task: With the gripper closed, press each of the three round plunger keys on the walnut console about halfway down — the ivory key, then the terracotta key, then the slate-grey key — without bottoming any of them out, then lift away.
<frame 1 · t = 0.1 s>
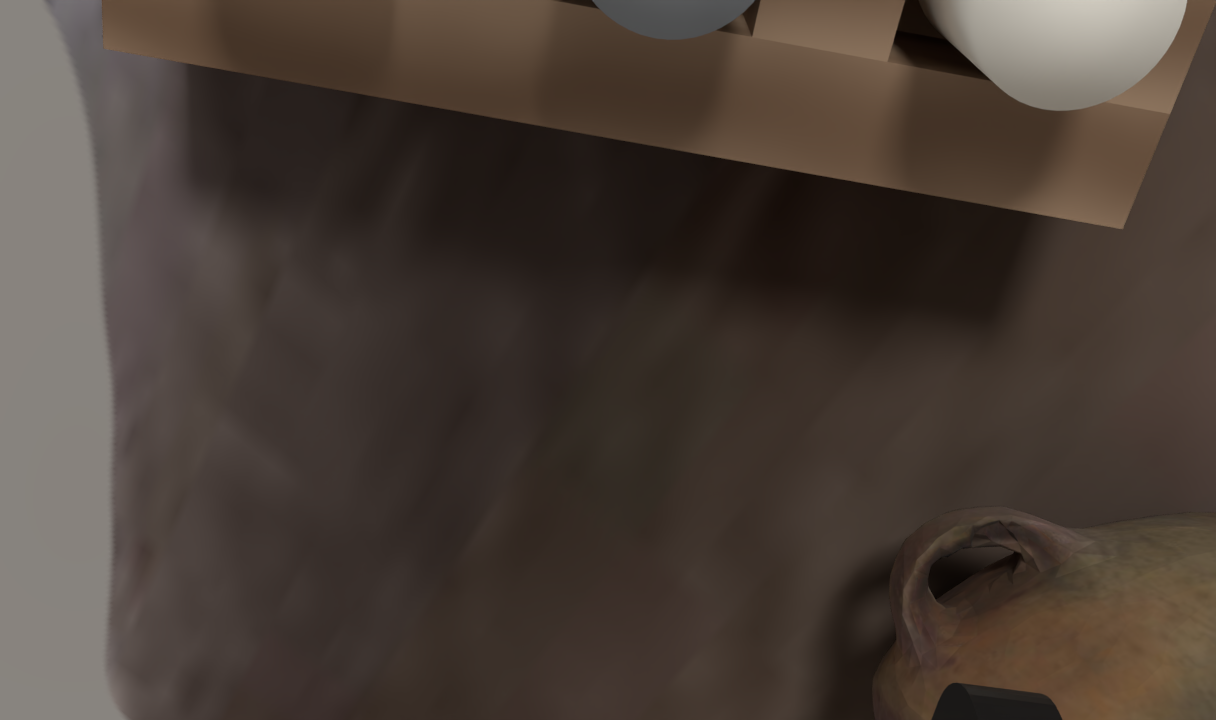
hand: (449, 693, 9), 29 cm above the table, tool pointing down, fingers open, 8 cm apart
jug: (1188, 568, 45), on the table
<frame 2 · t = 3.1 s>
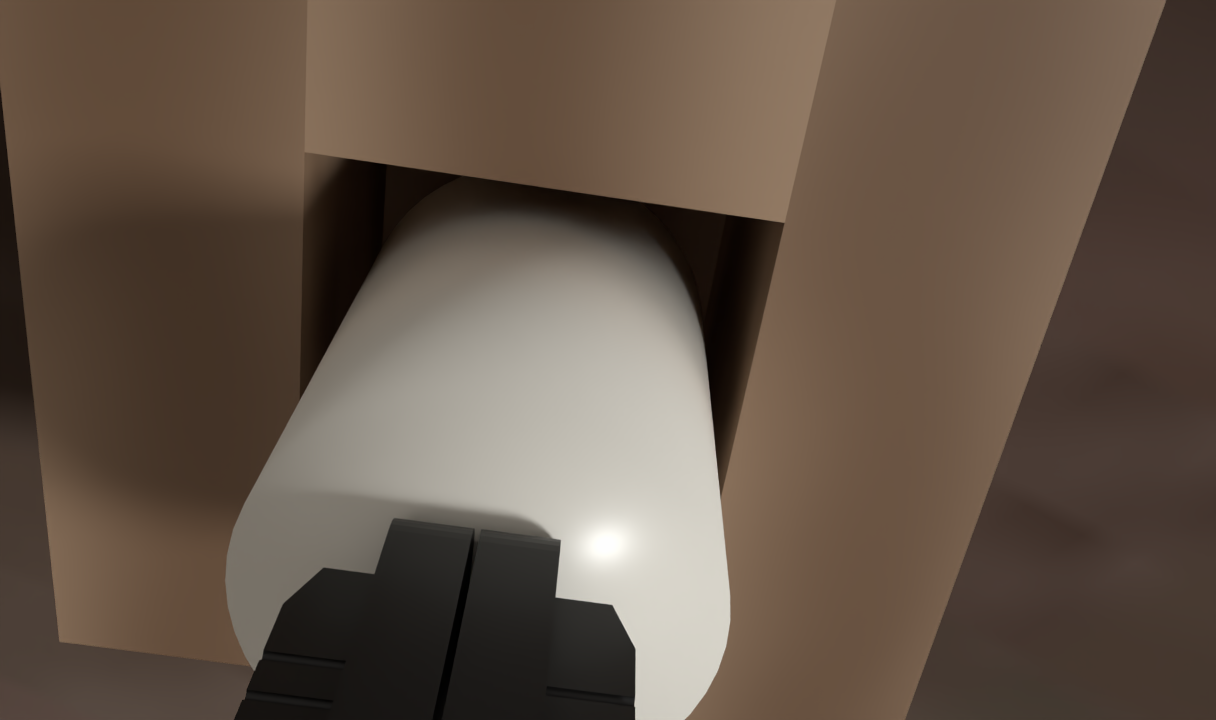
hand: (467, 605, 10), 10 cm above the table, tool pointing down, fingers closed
ivory key: (511, 440, 13), point 7 cm above the table, slide at 0.2 cm, touching gripper
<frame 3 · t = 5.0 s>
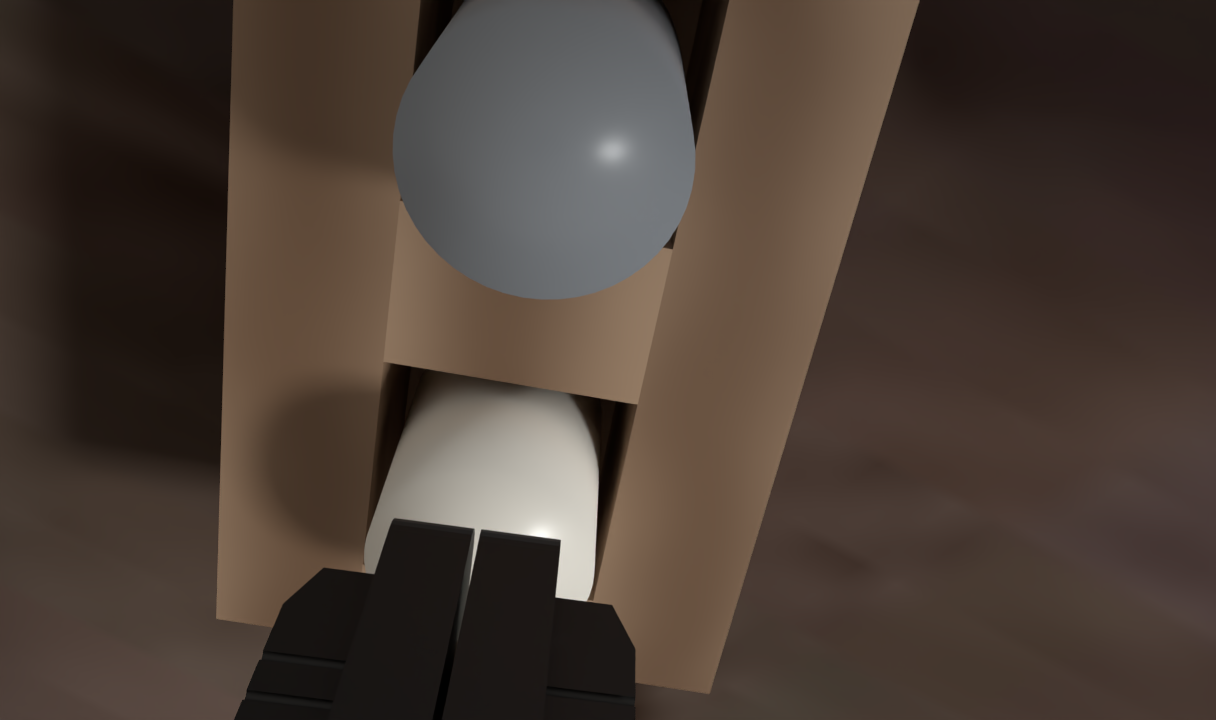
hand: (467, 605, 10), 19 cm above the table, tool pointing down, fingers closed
ivory key: (495, 482, 25), point 6 cm above the table, slide at 1.4 cm
slate key: (555, 108, 20), point 7 cm above the table, slide at 0.0 cm
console: (574, 22, 26), on the table
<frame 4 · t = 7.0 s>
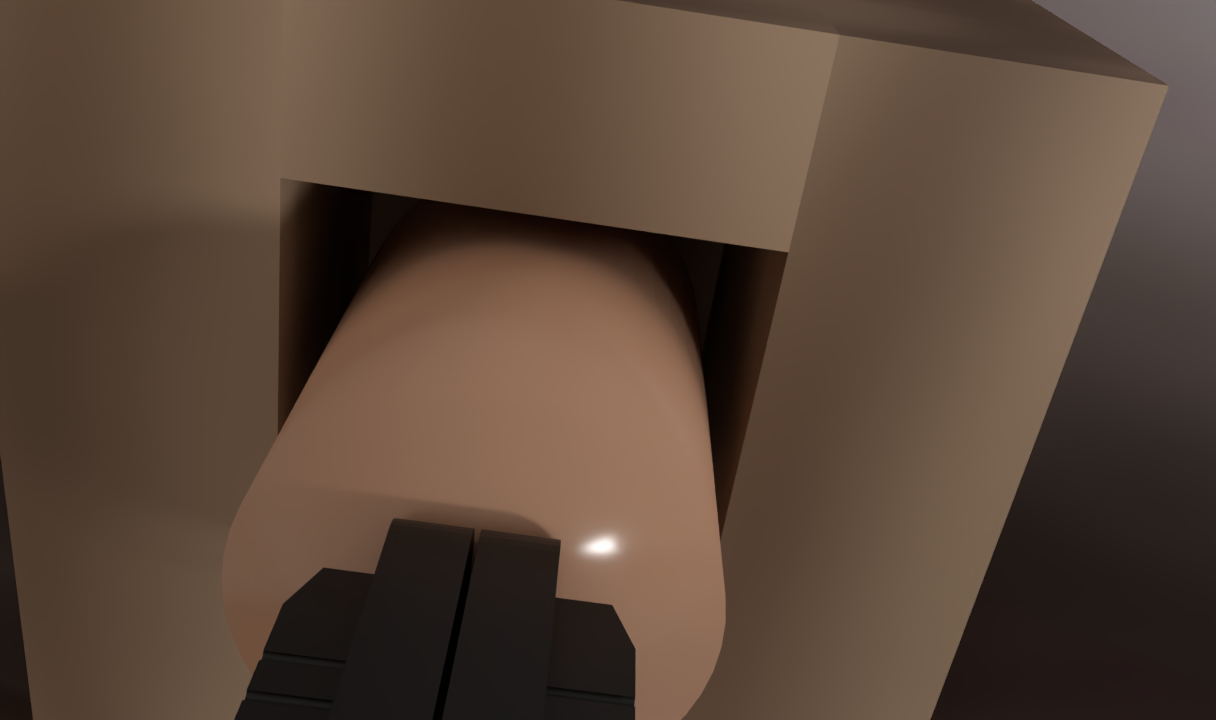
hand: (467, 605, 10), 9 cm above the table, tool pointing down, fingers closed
terracotta key: (508, 441, 13), point 6 cm above the table, slide at 1.0 cm, touching gripper
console: (494, 656, 23), on the table
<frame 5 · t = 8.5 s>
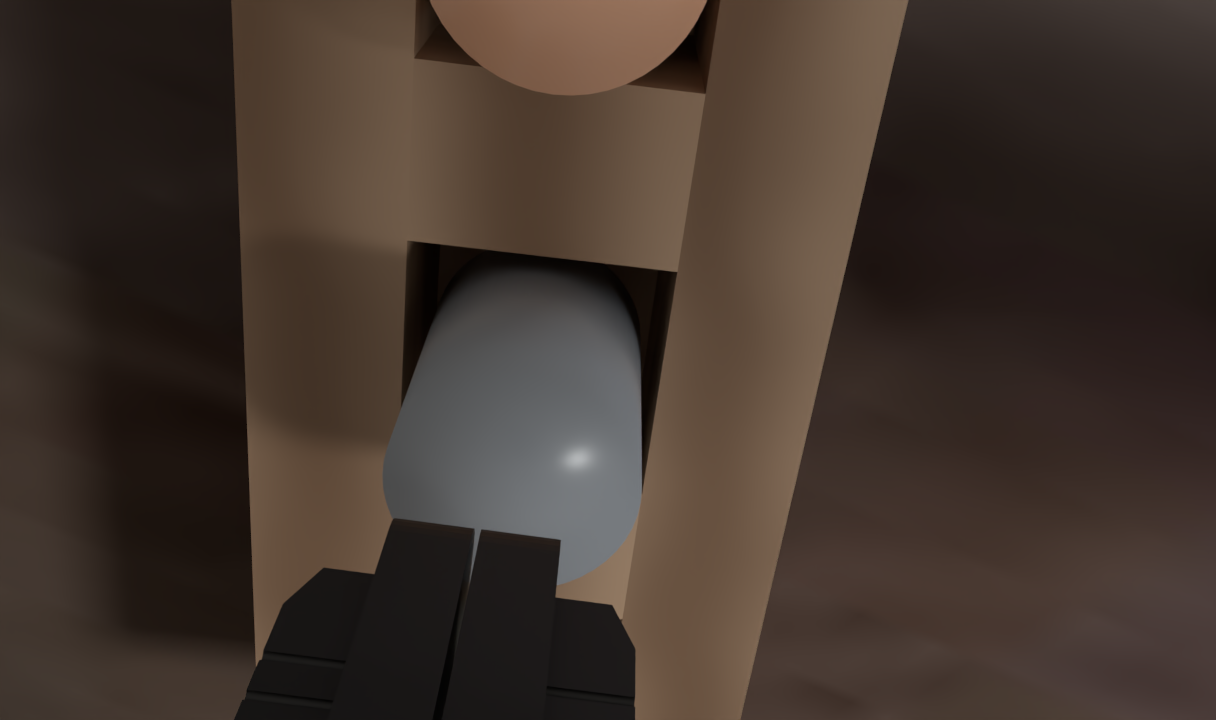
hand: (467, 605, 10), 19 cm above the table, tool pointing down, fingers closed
slate key: (526, 403, 23), point 7 cm above the table, slide at 0.0 cm
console: (550, 262, 29), on the table
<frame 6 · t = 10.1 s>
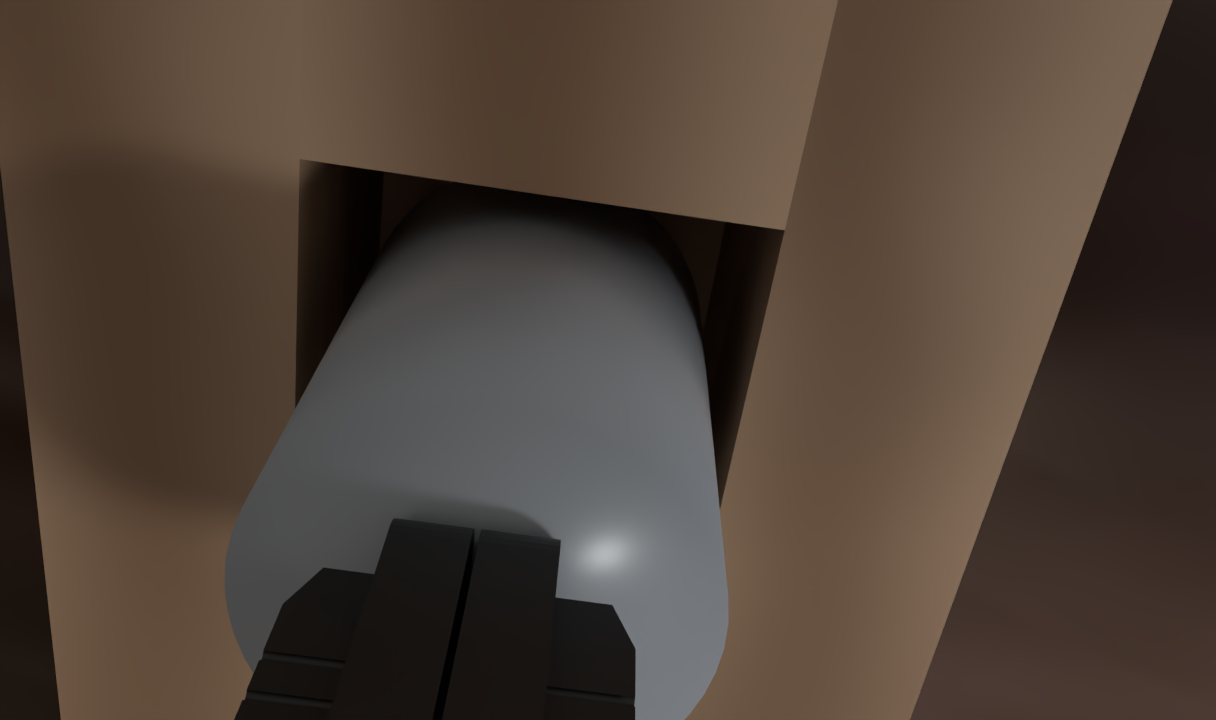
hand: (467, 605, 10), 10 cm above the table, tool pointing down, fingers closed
slate key: (510, 441, 13), point 7 cm above the table, slide at 0.4 cm, touching gripper
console: (553, 225, 19), on the table
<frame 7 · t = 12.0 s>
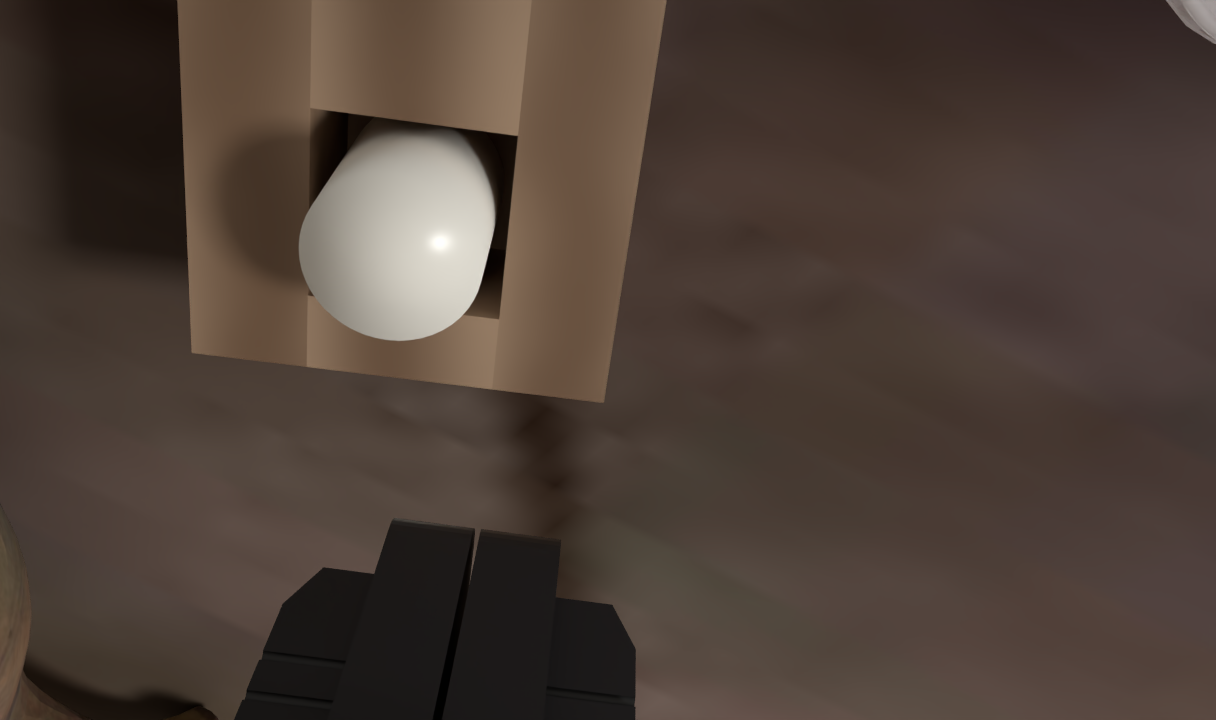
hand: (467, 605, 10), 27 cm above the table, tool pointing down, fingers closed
ivory key: (410, 215, 31), point 6 cm above the table, slide at 1.4 cm
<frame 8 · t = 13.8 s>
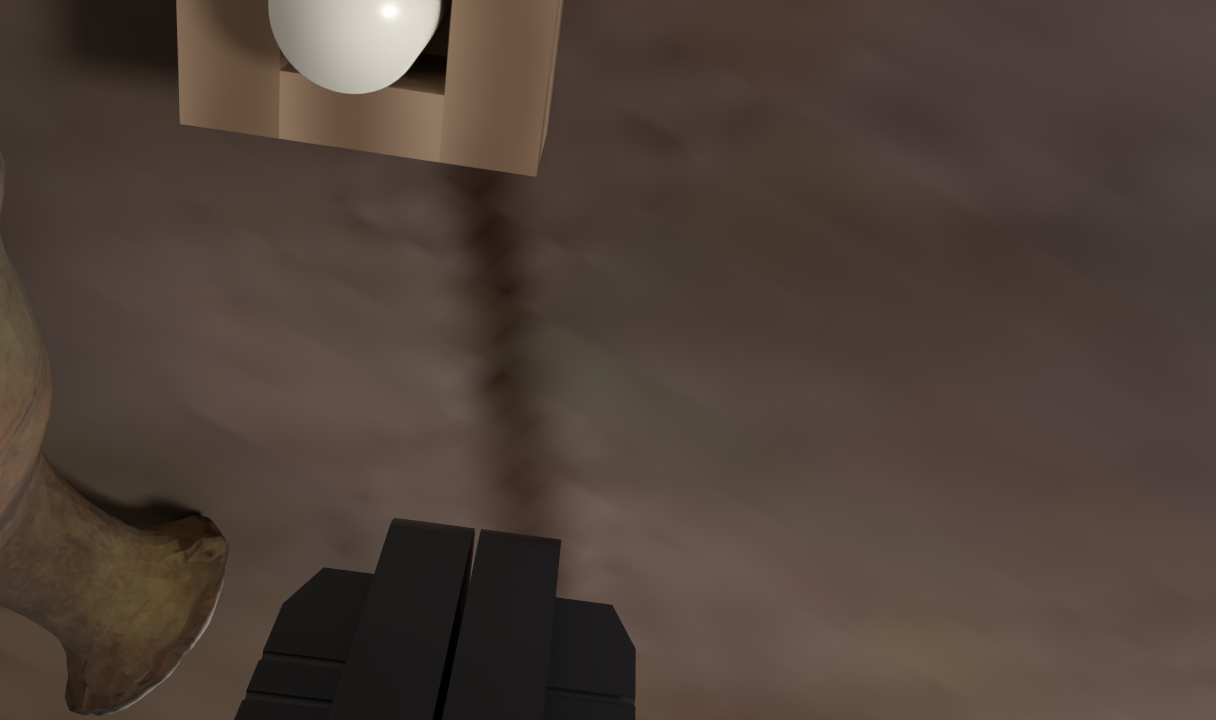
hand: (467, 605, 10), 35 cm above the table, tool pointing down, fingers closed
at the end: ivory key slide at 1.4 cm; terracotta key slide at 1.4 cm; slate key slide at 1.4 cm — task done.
